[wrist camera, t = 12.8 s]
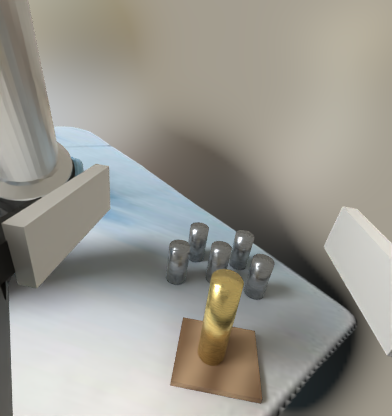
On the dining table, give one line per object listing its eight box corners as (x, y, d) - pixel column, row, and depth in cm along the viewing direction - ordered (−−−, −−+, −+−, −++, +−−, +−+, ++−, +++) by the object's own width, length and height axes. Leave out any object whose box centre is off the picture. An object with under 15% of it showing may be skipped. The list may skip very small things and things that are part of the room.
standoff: (196, 362, 35) (210, 288, 29) (199, 337, 39) (212, 266, 32) (224, 368, 35) (244, 295, 29) (224, 342, 38) (242, 272, 32)
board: (170, 385, 33) (170, 380, 32) (182, 321, 42) (183, 317, 41) (260, 403, 32) (262, 399, 32) (253, 335, 41) (254, 331, 41)
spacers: (164, 282, 49) (167, 250, 46) (175, 247, 60) (178, 219, 56) (264, 301, 48) (276, 269, 45) (258, 262, 59) (266, 234, 55)
